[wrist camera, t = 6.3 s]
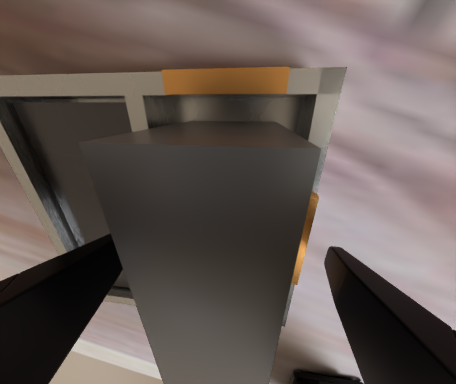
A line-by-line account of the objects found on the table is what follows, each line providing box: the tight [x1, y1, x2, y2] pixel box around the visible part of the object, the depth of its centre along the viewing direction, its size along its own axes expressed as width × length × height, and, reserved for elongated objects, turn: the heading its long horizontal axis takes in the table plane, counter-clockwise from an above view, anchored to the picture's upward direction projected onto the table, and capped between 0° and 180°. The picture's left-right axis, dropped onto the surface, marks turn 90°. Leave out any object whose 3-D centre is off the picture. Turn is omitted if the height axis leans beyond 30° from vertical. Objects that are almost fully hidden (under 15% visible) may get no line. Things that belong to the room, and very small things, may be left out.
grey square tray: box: [0, 66, 347, 326], centre depth 10 cm, size 13×14×3 cm
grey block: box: [79, 121, 321, 384], centre depth 8 cm, size 10×4×6 cm, turn 0°
